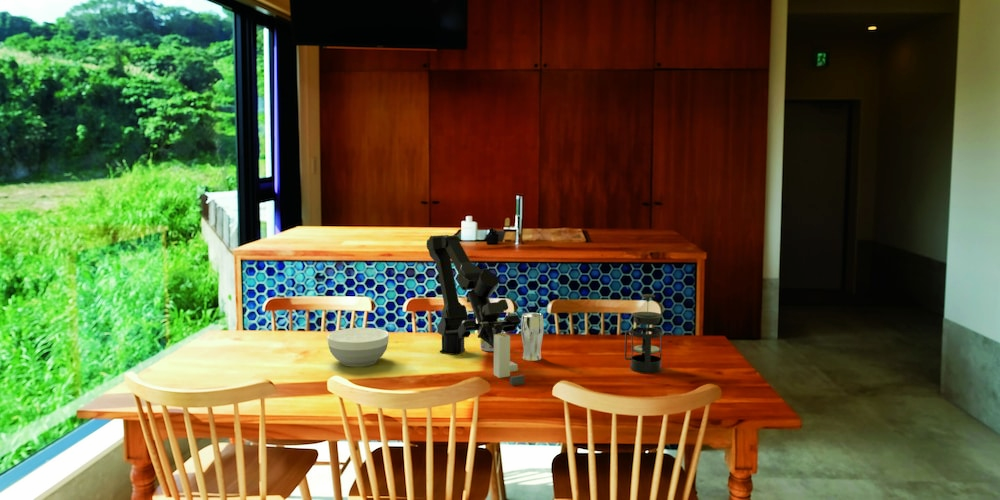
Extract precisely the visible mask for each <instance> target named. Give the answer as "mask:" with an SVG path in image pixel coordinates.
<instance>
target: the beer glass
mask: <svg viewBox="0 0 1000 500" xmlns="http://www.w3.org/2000/svg"><path fill="white" fill-rule="evenodd" d="M520 320H521V322H520V333H521V340H522V346H523V354H522V359H523V360H525V361H534V362H535V361H540V360H541V359H542V354H541V349H542V342H543V339H544V338H543V336H544V315H543V314H542V313H540V312H525V313H522V314H521V319H520Z"/></svg>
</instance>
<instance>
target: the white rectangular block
mask: <svg viewBox="0 0 1000 500" xmlns="http://www.w3.org/2000/svg"><path fill="white" fill-rule="evenodd" d="M510 361H511V335H509V334H507V333H506V332H504V333H503V332H501V333H498V334H494V351H493V376H495V377H497V378H498V379H499V378H508V377H511V372H510Z"/></svg>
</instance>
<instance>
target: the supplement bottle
mask: <svg viewBox="0 0 1000 500" xmlns="http://www.w3.org/2000/svg"><path fill="white" fill-rule="evenodd" d="M497 320H498V321H501V320H500V318H498V319H497ZM480 350H482V351H484V352H494V348H493V347H492V346H490V345H489V344H488V343H487V342H486V341H484V340H483V339H481V338H480Z"/></svg>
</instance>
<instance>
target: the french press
mask: <svg viewBox="0 0 1000 500" xmlns="http://www.w3.org/2000/svg"><path fill="white" fill-rule="evenodd" d="M640 297H641V298H645V299H646V301H645V302H647V303H646V311H637V312H633V313H632V317H633V322H634V323H636V324H639V325H644V326H641V327H640V326H639V327H634V328H632V329H630V330H625V332H624V333H625V335H624V340H625V341H624V358H625V360H626V361H630V367H629V368H630V370H631V371H633V372H636V373H640V374H655V373H660V372H661V371H662V343H663V342H662V339H663V331H662V329H660V328H656V327H649V326H652V325H653V326H654V325H658V324H659V323H660V321H661V318H663V314H661V313H659V312H653V311H649V302H650V299H652V298H655V297H656V296H655V295H654V294H650V293H646V294H641V295H640ZM641 332H642V333H641ZM649 332H650V333H649ZM628 333H631V349H630V350H631V356H630V357H627V352H628V351H627V350H628V349H627V344H628ZM634 337H635V338H641V340H642V341H641V343H642V344H639V345H634ZM652 339H660V340H659V341H660V343H659V344H660V345H659V347H658V346H656V345H652ZM633 345H634V346H633ZM633 352H635V353H636V354H634V353H633ZM658 353H659V356H657V355H653V354H658ZM633 354H634V355H633Z"/></svg>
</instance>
